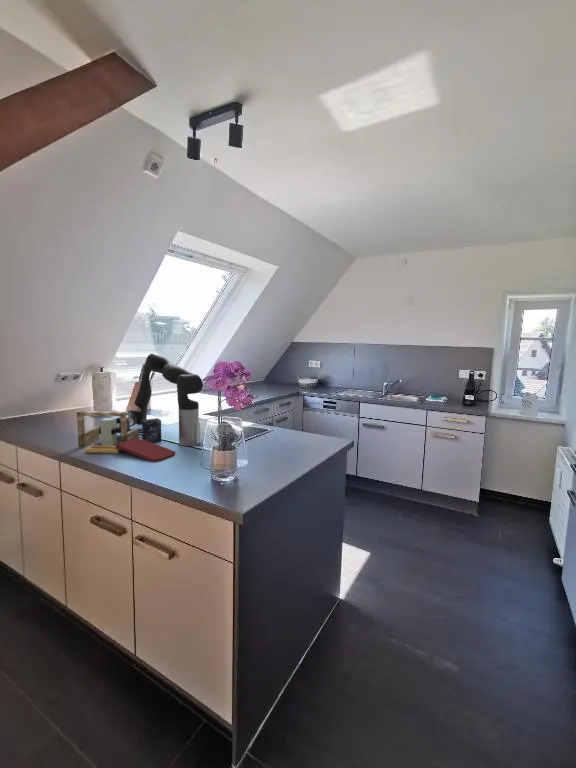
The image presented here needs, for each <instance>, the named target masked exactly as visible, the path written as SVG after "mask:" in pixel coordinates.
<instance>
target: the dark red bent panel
mask: <svg viewBox="0 0 576 768" xmlns="http://www.w3.org/2000/svg"><path fill="white" fill-rule="evenodd" d="M115 446H116V449H117V448H118V449H120V453H122V452H126V453H129V454H131V455H134V456H136V457H138V458H141V459H143V460H146V461H149V462H152V463H156V462H161V461H165V460H167V459H169V458H172V457H174V456H175V454H176V451H175V450H172V449H170V448H168V447H167V448H166V447H165V446H162V445H159V444H156V443H155V442H149V441H146V440H143V439H141V438H139V439H132V440H128V441H124V442H117V443H116V444H115Z"/></svg>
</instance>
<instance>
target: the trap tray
mask: <svg viewBox="0 0 576 768" xmlns="http://www.w3.org/2000/svg"><path fill="white" fill-rule="evenodd" d="M120 453H121V452H120V449H118V448H117V449H116V445H113V446H101V445H97V444H96V445H90V446H88V447H87V448H85V454H108V455H109V454H110V455H111V454H113V455H115V454H117V455H118V454H120Z"/></svg>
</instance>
